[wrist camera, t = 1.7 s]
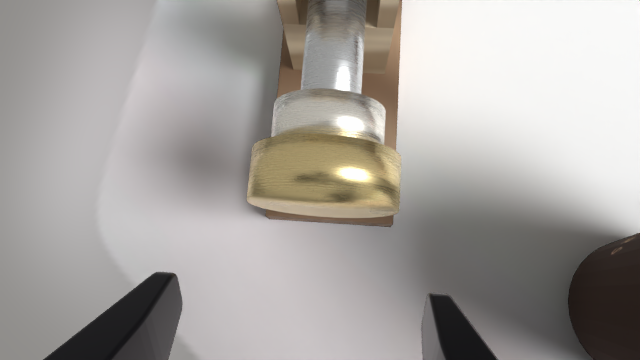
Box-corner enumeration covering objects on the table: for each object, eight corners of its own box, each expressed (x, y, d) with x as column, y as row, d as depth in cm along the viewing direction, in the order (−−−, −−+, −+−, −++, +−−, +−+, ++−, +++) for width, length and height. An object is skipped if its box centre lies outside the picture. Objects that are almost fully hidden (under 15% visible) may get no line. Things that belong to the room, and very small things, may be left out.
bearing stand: (390, 226, 23) (428, 184, 12) (269, 218, 23) (210, 170, 13) (400, -10, 25) (438, -205, 15) (291, -13, 26) (257, -207, 16)
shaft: (391, 221, 18) (409, 199, 13) (261, 212, 19) (230, 187, 14) (399, 19, 20) (417, -68, 15) (280, 15, 20) (259, -72, 15)
